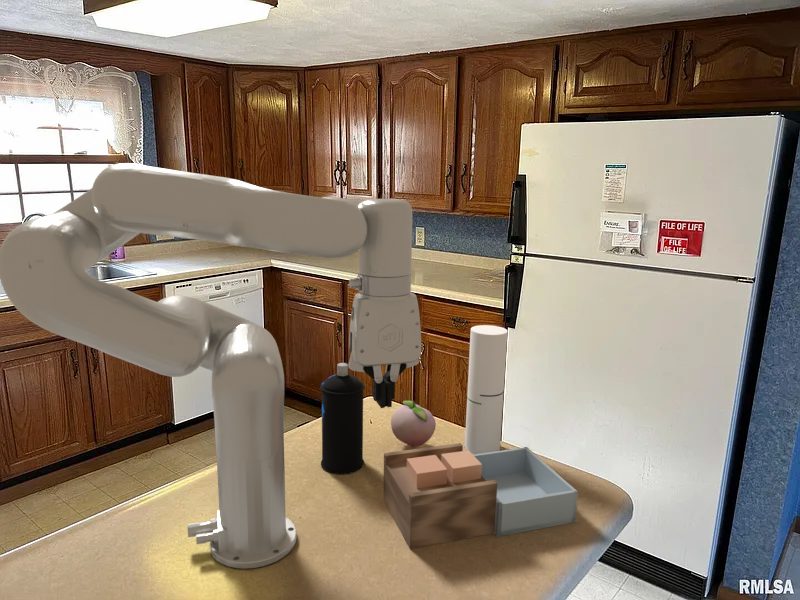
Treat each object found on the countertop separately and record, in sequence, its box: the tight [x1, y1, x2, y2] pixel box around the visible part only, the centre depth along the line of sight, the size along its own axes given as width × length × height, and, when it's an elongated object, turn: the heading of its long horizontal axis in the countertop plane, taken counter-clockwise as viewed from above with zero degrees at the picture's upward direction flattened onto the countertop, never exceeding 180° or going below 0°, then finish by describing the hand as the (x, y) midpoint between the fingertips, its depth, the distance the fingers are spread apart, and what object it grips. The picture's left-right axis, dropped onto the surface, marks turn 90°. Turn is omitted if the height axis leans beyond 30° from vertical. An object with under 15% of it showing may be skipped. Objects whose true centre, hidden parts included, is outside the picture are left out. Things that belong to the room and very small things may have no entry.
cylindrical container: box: [464, 324, 508, 454], centre depth 118 cm, size 7×7×25 cm
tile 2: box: [441, 450, 482, 483], centre depth 96 cm, size 5×5×2 cm
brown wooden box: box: [382, 442, 497, 550], centre depth 95 cm, size 14×14×9 cm
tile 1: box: [406, 455, 447, 488], centre depth 94 cm, size 5×5×2 cm
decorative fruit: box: [390, 400, 437, 448], centre depth 119 cm, size 9×8×10 cm
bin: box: [472, 446, 579, 538], centre depth 100 cm, size 14×16×6 cm
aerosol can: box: [319, 362, 366, 475], centre depth 110 cm, size 8×8×20 cm
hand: (383, 404), depth 89 cm, fingers closed
